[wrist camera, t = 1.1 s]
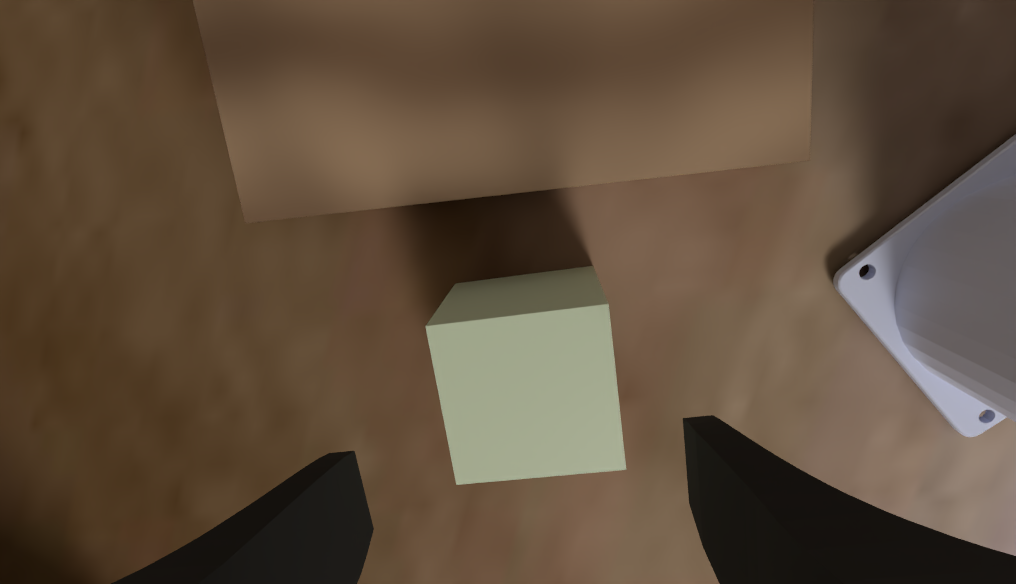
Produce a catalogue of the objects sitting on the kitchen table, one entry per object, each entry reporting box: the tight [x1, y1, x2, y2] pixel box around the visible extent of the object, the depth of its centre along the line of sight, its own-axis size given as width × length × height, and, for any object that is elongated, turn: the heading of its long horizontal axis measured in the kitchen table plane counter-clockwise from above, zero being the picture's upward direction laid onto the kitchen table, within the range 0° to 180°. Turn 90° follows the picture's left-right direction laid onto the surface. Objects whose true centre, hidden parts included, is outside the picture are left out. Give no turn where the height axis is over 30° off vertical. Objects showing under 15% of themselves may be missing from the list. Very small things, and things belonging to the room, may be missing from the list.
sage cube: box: [426, 266, 626, 485], centre depth 17 cm, size 5×5×5 cm
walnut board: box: [193, 0, 814, 223], centre depth 17 cm, size 9×18×2 cm, turn 97°
